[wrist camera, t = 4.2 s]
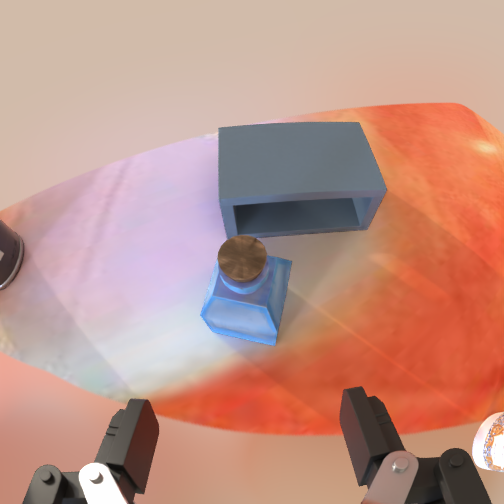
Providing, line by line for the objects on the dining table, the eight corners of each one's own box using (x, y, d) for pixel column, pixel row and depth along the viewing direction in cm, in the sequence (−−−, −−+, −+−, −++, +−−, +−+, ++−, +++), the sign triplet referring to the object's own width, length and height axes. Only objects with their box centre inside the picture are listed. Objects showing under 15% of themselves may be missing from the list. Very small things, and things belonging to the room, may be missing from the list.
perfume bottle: (287, 286, 32) (297, 224, 21) (274, 345, 29) (280, 312, 18) (228, 275, 32) (210, 209, 22) (212, 331, 30) (182, 290, 19)
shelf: (227, 240, 34) (218, 199, 28) (225, 172, 39) (218, 127, 32) (367, 229, 34) (387, 189, 27) (347, 165, 39) (359, 122, 32)
